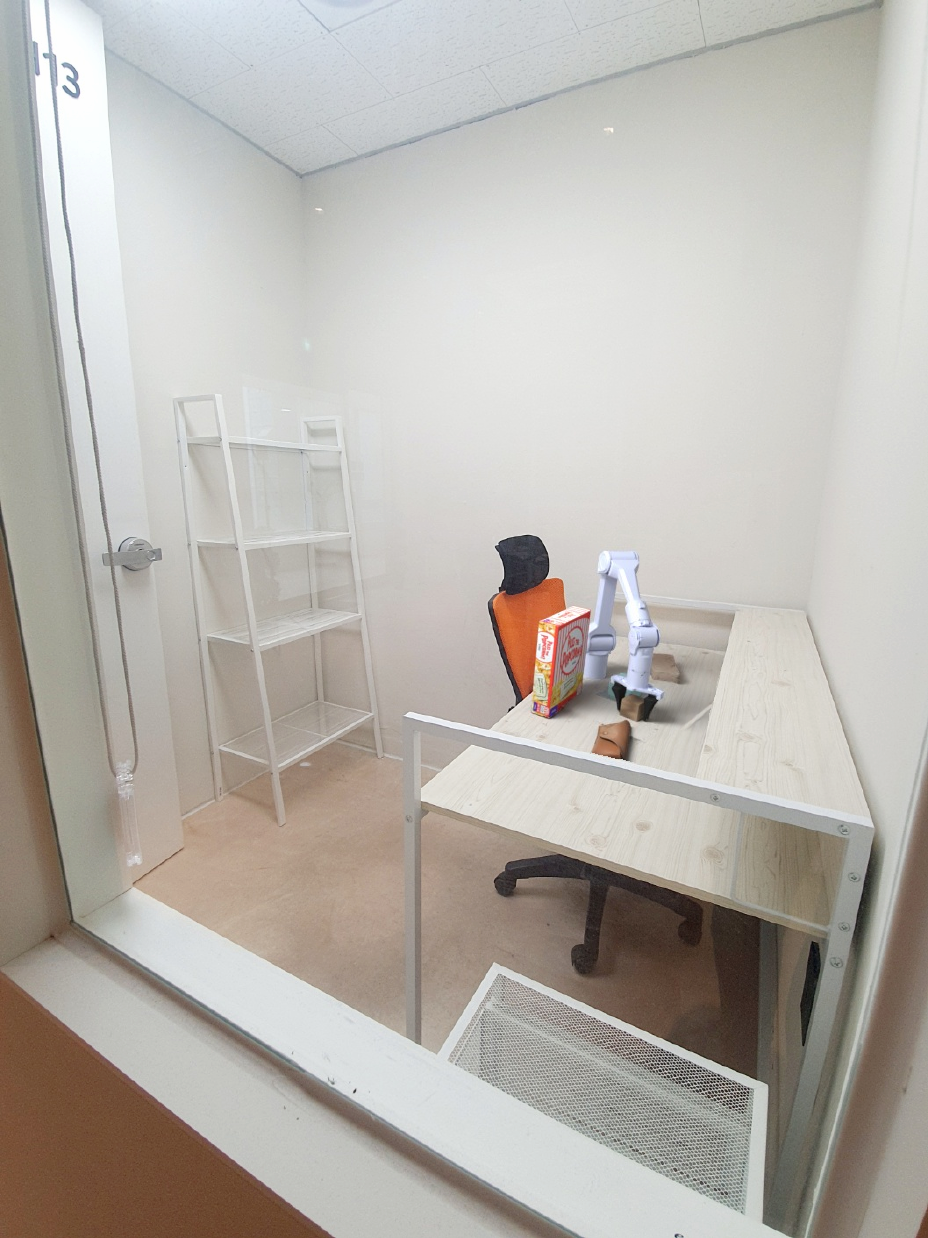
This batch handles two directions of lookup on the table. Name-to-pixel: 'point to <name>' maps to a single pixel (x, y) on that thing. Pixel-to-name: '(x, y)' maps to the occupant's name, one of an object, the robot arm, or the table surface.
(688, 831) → the table surface
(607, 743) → the sunglasses case
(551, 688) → the cardboard food box
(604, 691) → the baseplate
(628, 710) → the walnut block
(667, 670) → the brick
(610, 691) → the base brick
